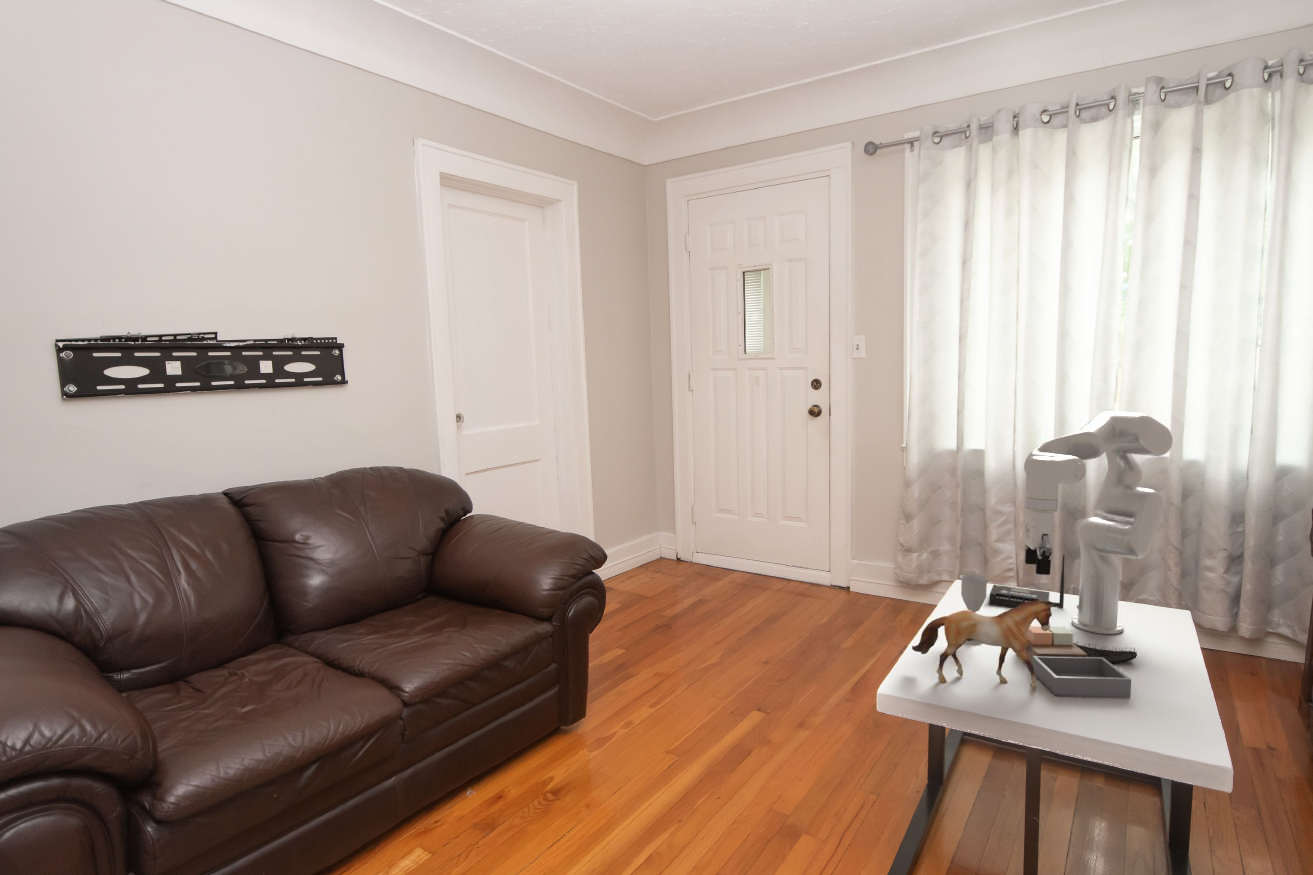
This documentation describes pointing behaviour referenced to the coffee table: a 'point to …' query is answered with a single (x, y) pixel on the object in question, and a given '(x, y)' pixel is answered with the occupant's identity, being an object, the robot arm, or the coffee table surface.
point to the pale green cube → (1061, 636)
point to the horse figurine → (987, 634)
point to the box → (1081, 677)
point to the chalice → (973, 594)
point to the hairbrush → (1109, 654)
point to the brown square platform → (1053, 650)
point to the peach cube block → (1039, 635)
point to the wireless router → (1023, 594)
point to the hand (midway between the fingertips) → (1037, 568)
